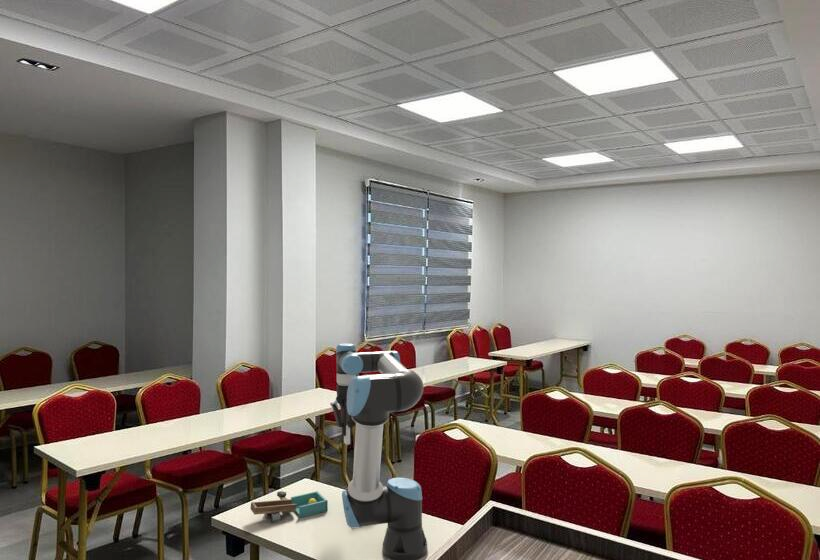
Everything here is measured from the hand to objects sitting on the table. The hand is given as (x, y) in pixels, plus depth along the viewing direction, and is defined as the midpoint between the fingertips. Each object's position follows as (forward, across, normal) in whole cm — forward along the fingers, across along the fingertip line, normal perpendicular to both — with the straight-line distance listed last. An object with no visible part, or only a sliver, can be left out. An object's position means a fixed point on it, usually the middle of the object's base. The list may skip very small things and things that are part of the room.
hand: (347, 443), depth 218 cm
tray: (+26, +13, -9) cm, 31 cm away
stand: (+26, +27, -9) cm, 39 cm away
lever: (+25, +27, -14) cm, 39 cm away
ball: (+24, +11, -9) cm, 28 cm away
